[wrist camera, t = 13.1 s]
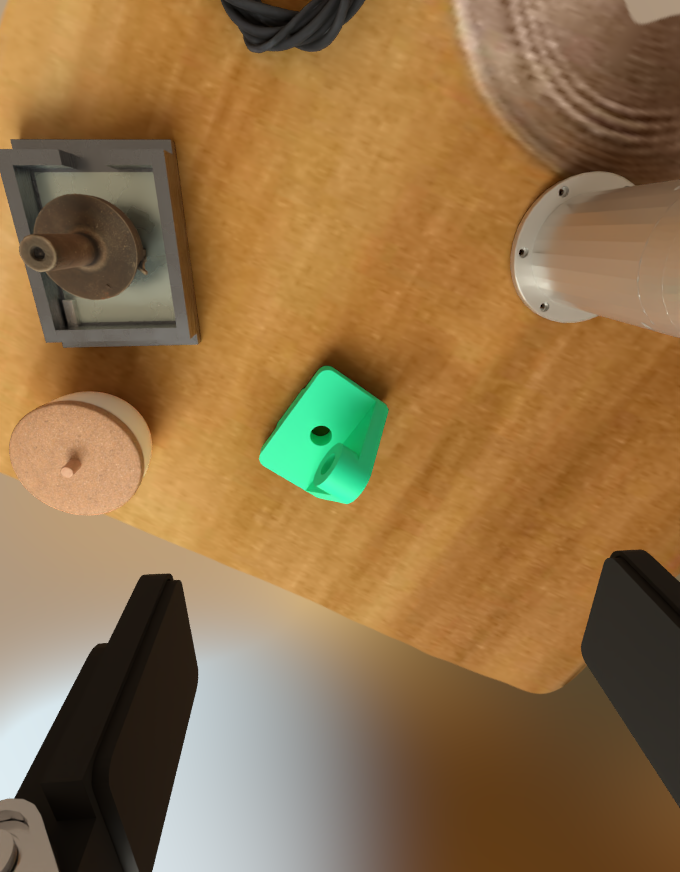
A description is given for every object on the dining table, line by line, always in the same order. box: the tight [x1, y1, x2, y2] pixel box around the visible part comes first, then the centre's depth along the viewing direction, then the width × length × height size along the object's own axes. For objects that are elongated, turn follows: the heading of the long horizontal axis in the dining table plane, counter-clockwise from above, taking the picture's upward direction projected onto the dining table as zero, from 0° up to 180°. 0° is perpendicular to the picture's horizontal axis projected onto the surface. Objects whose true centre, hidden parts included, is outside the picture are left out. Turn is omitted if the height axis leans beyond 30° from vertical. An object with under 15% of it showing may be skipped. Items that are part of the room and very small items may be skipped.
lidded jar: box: [9, 391, 152, 515], centre depth 42 cm, size 11×11×9 cm
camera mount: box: [259, 366, 389, 504], centre depth 43 cm, size 12×8×10 cm, turn 144°
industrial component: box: [19, 194, 148, 300], centre depth 33 cm, size 9×7×12 cm
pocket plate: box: [0, 139, 201, 348], centre depth 38 cm, size 12×16×4 cm
